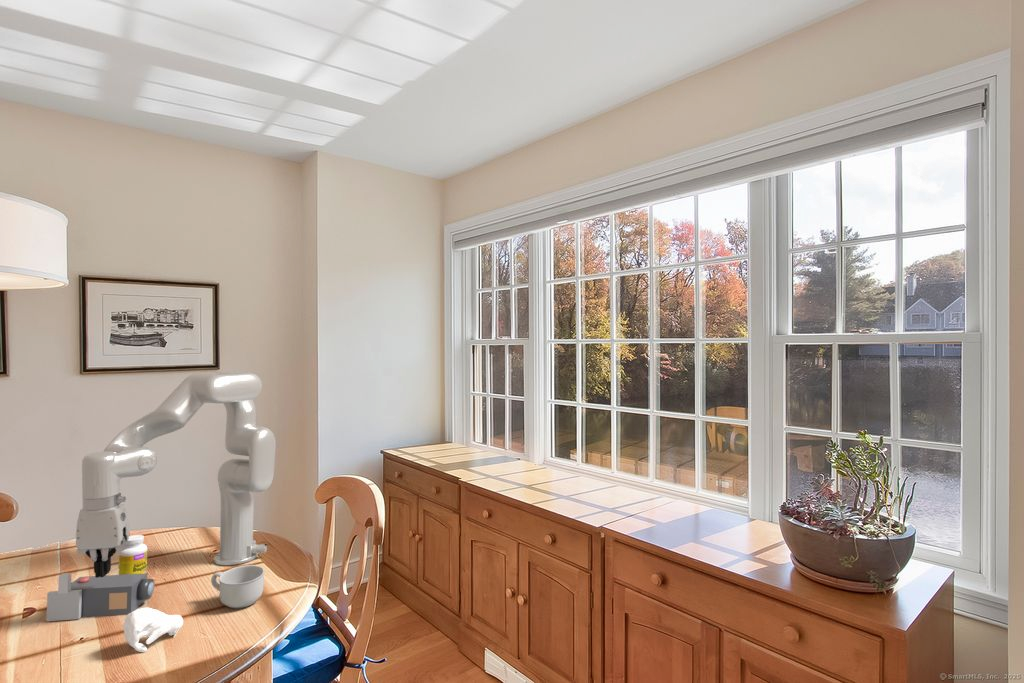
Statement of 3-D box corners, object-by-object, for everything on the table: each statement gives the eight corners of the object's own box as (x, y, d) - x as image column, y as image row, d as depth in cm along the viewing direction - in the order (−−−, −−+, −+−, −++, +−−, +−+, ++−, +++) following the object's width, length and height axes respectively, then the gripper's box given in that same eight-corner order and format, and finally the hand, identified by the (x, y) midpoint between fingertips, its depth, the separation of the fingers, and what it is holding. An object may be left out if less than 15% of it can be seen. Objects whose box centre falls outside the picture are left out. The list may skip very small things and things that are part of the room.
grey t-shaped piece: (81, 616, 135) (82, 572, 135) (78, 619, 133) (79, 574, 133) (49, 618, 133) (51, 573, 134) (46, 621, 132) (47, 576, 132)
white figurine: (121, 608, 121) (179, 594, 131) (116, 648, 121) (174, 631, 130) (133, 617, 118) (191, 602, 127) (127, 658, 117) (186, 640, 127)
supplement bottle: (132, 588, 151) (133, 542, 151) (112, 586, 152) (113, 540, 152) (152, 579, 157) (153, 534, 158) (133, 576, 159) (134, 532, 159)
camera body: (156, 599, 145) (157, 570, 145) (141, 613, 137) (142, 583, 137) (79, 603, 142) (80, 574, 142) (59, 618, 134) (60, 587, 134)
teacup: (272, 597, 147) (273, 568, 147) (240, 616, 136) (241, 584, 136) (233, 589, 151) (233, 561, 151) (199, 607, 141) (199, 576, 141)
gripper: (142, 496, 140) (142, 566, 140) (77, 499, 138) (78, 570, 138) (126, 505, 133) (127, 579, 133) (58, 508, 130) (59, 584, 131)
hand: (102, 574), depth 136 cm, fingers closed
